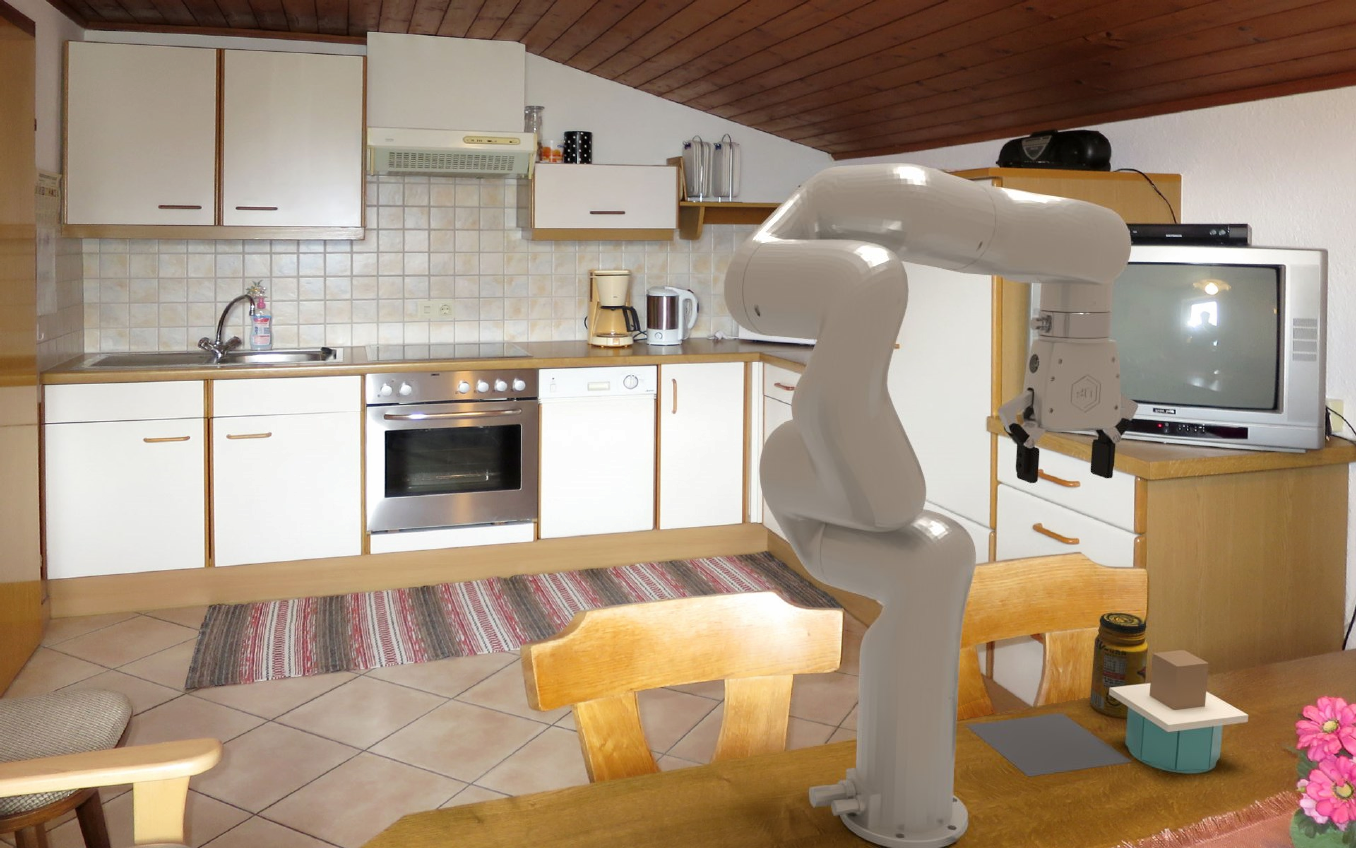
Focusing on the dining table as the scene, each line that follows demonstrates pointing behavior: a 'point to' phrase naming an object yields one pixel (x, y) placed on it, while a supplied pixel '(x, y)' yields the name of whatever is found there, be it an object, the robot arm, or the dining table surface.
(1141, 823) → the dining table surface
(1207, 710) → the lid
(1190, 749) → the bowl
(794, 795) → the dining table surface
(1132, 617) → the condiment
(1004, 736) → the mat
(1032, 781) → the dining table surface
